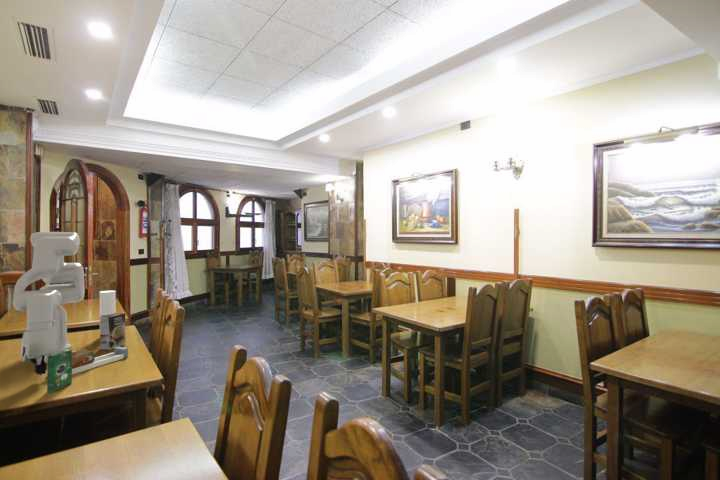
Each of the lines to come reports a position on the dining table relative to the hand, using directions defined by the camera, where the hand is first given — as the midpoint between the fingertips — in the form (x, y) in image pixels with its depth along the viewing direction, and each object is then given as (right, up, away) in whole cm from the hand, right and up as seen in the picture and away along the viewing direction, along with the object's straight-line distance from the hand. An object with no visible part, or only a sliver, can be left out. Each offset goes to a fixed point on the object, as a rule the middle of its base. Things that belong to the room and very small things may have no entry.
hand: (40, 373), depth 139 cm
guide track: (+7, -3, +15) cm, 17 cm away
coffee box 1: (+12, -3, -5) cm, 13 cm away
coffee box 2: (-1, -3, +43) cm, 43 cm away
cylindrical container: (-16, -2, +60) cm, 62 cm away
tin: (+4, -3, +10) cm, 11 cm away
